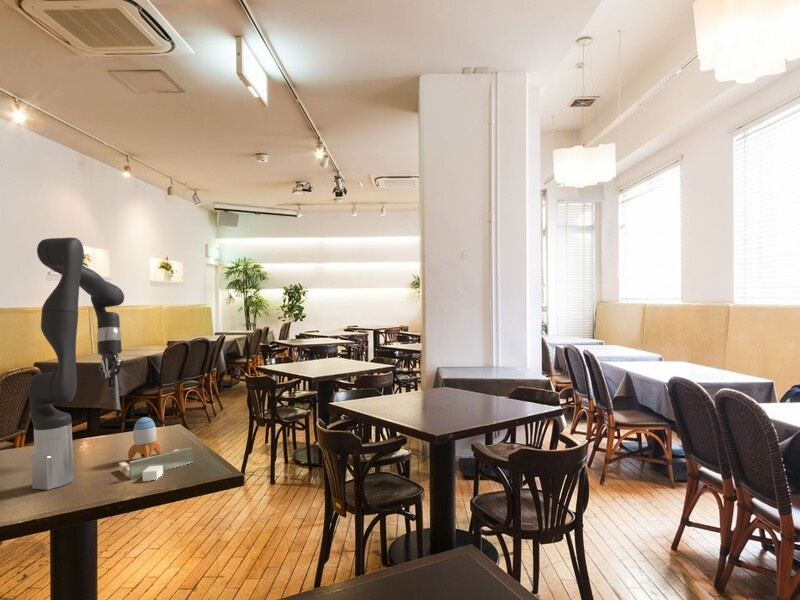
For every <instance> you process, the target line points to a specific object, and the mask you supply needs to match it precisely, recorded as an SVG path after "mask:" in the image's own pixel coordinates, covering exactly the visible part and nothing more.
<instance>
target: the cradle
mask: <svg viewBox="0 0 800 600" xmlns="http://www.w3.org/2000/svg"><path fill="white" fill-rule="evenodd" d="M193 461H194V456H193V447H190V446H189V447H186V448H181V449H179V448H176V449H173V450H172V451H169V452H165V453H161V454H158V455H157V454H156V455H152V456H149V457H148V458H145V457H142V458H139V459H136V460H130V461H129V462H128V463H127V462H126V461H120V462H118V470H119V472H120V473H122V474H123V475H124V476H125V477H128V478H129V479H130V480H136V479H138V478H139V479H140V478H143V477H142V472H143V471H144V470H145V469H147V468H148V467H149V466H160V465H163V472H165V470H166V471H169V470H168V469H170V470H173V469H172V468H174V469H176V467H178V468H180V467H179V466H181V467H184V466H183V465H185V466H187V465H186V464H189V465H191V464H190V463H193V464H194V462H193Z"/></svg>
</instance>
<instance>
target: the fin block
mask: <svg viewBox="0 0 800 600" xmlns="http://www.w3.org/2000/svg"><path fill="white" fill-rule="evenodd" d="M162 474H163V475H164V471H163V465H160V466H149V467H148V468H147V469H145V470H144V471H143V472H142V477H141V478H142V482H152V481H151V480H155V481H158V480H159V479H160V478H161V477H162V476H163V475H162ZM160 476H161V477H160ZM159 477H160V478H159ZM158 478H159V479H158ZM157 479H158V480H157Z"/></svg>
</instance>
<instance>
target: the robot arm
mask: <svg viewBox="0 0 800 600" xmlns="http://www.w3.org/2000/svg"><path fill="white" fill-rule="evenodd" d="M84 253H85V252H84V245H83V243H82V242H81V240H80V239H78V238H77V237H51V238H45V239H42V240H40V241H39V243H38V244H37V248H36V254H37V257H38V260H39V262H41V264H43V265H44V266H45V267H47V268H48V269H50V270H52V271H54V272H56V273H57V274H60V275H61V277H60V280H59V282H58V284H57V285H56V287H55V288H54V289H53V291H52V292H51V293H50V294H49V296H48V297H47V298H46V299H45V301H44V303H43V305H42V307H41V315H40V316H41V319H40V330H41V332H42V335H43V336H44V338H45V339H46V341H47V342H48V344H49V345H50V346H51V347H52V349H53V351H54V352H55V353H54V354H56V355H55V356H56V358H57V362H58V371H53V372H52V371H51V372H50V371H49V372H39V373H36V374H34V375H33V376H32V377H31V378H30V381H29V383H28V384H29V385H28V398H29V399H28V400H29V410H30V419H31V422H32V425H33V444H34V445H33V449H34V450H33V451H34V455H32V456H31V458H30V459H31V460H30V462H31V481H32V482H31V487H32V489H33V490H34V489H35V490H44V491H45V490H46V491H48V490H51V489H56V488H59V487H63V486H66V485H69V484H71V483H73V482H74V480H75V479H74V478H75V475H74V456H73V454H74V451H73V430H72V424H73V423H72V416H71V414H70V413H69V412H64V411H61V410H59V409H57V408H55V407H54V406H53V404H62V403H69V402H72V401H73V399H74V398H75V396H76V393H77V386H78V385H77V384H78V379H77V376H78V375H77V358H76V357H77V353H76V351H77V350H76V349H77V333H78V323H79V295H80V288H81V289H82V290H83V291H84V292H85V293H86V294H87V295H89V296H90V300H91V303H92V308H93V309H94V311H95V312H94V313H95V315H96V318H97V319H96V320H97V324H96V325H97V335H96V340H97V341H96V343H97V344H96V345H97V354H98V355H99V356H101V364H99V365H98V366H97V367H98V371H99V372H100V374H101V377H102V378H105V379H106V389H107V390H109V389H110V390H111V389H114V388H116V378H117V376H119V374H120V372H121V368H122V365H123V362H124V361H123V359H120V357H119V354H121V353H122V351H123V350H122V333H121V328H120V327H121V325H120V315H119V313H117V312H113V311H107V310H106V308H111V307H119V306H120V305H122V304H123V303H124V300H125V294H124V292H123V291H122V289H121V288H120V287H119V286H117V285H115V284H113V283H112V282H110V281H106V280H105V279H104V278H103V277H102V276H101V275H100V274H99V273H97V272H96V271H94V270H93V269H91V268H89V267H86V266H85V265H84V257H85V254H84Z"/></svg>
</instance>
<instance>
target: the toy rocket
mask: <svg viewBox="0 0 800 600" xmlns="http://www.w3.org/2000/svg"><path fill="white" fill-rule="evenodd" d="M132 437H133V443H134V444H132V446H130V448H129V450H128V452H127V453H128V454H127V457H128V460H129V461H133V460H132V459H133V458H134V457H135V455H136V454H137V453H138V454H139V455H140V457H141V458H148V457H151V453H152V452H153V451H154V452H155V453H157V454H158V455H160V454H162V445H161V443H160V442H159V441H157V427H156V423H155V422H154V420H153V419H152V418H151V417H148V416H145V417H141V418H139V419H138V420H137V421H136V422H135V423H134V427H133V434H132Z"/></svg>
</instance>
